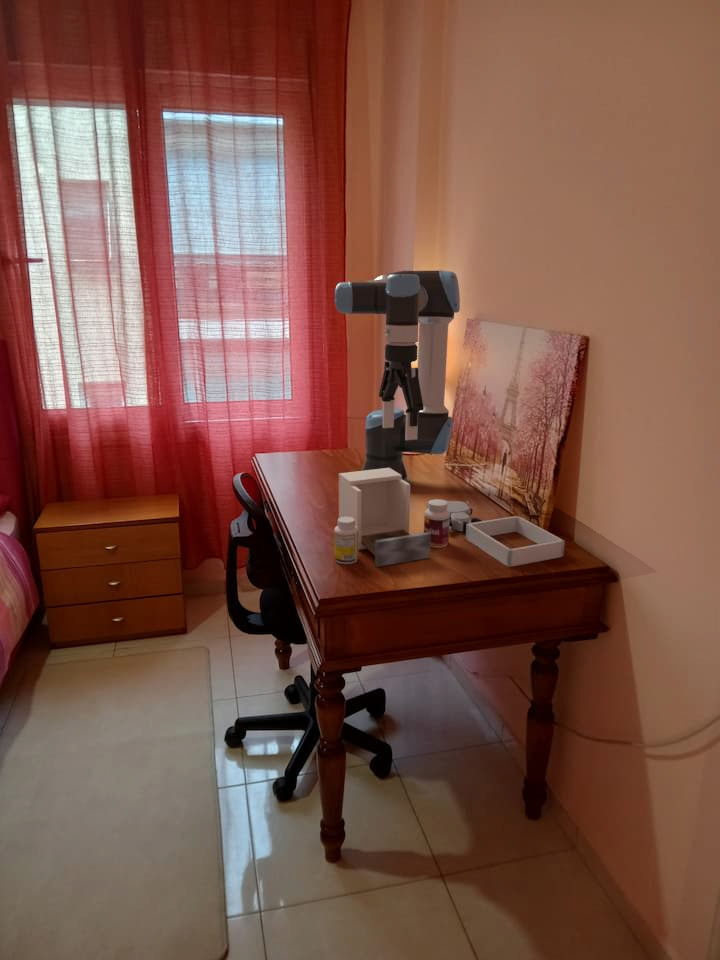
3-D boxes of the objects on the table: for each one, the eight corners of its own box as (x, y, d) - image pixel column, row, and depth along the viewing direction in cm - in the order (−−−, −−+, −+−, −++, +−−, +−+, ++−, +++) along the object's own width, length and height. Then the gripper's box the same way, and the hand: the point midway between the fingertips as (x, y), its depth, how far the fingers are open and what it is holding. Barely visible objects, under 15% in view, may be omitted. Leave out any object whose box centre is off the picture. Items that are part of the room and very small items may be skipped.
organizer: (516, 530, 179) (517, 515, 177) (563, 556, 162) (564, 541, 161) (465, 538, 173) (466, 523, 171) (508, 567, 156) (509, 550, 155)
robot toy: (487, 535, 177) (465, 512, 191) (489, 520, 176) (466, 497, 189) (443, 540, 174) (424, 516, 188) (444, 524, 173) (424, 501, 186)
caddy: (388, 525, 181) (389, 467, 176) (408, 541, 171) (410, 480, 166) (339, 532, 176) (338, 473, 171) (357, 550, 165) (357, 487, 161)
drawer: (407, 539, 171) (407, 517, 169) (429, 557, 160) (430, 533, 159) (357, 547, 166) (357, 524, 164) (377, 566, 155) (377, 542, 154)
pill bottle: (418, 544, 169) (419, 502, 166) (432, 537, 173) (434, 496, 170) (438, 551, 165) (440, 508, 162) (453, 543, 169) (455, 501, 166)
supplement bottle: (345, 553, 163) (345, 513, 160) (363, 559, 160) (363, 519, 157) (329, 560, 159) (329, 519, 156) (347, 567, 156) (347, 525, 153)
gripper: (366, 339, 168) (365, 424, 174) (409, 349, 145) (406, 446, 152) (394, 338, 170) (392, 422, 176) (441, 348, 148) (437, 443, 154)
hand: (399, 433), depth 164 cm, fingers open, 13 cm apart
